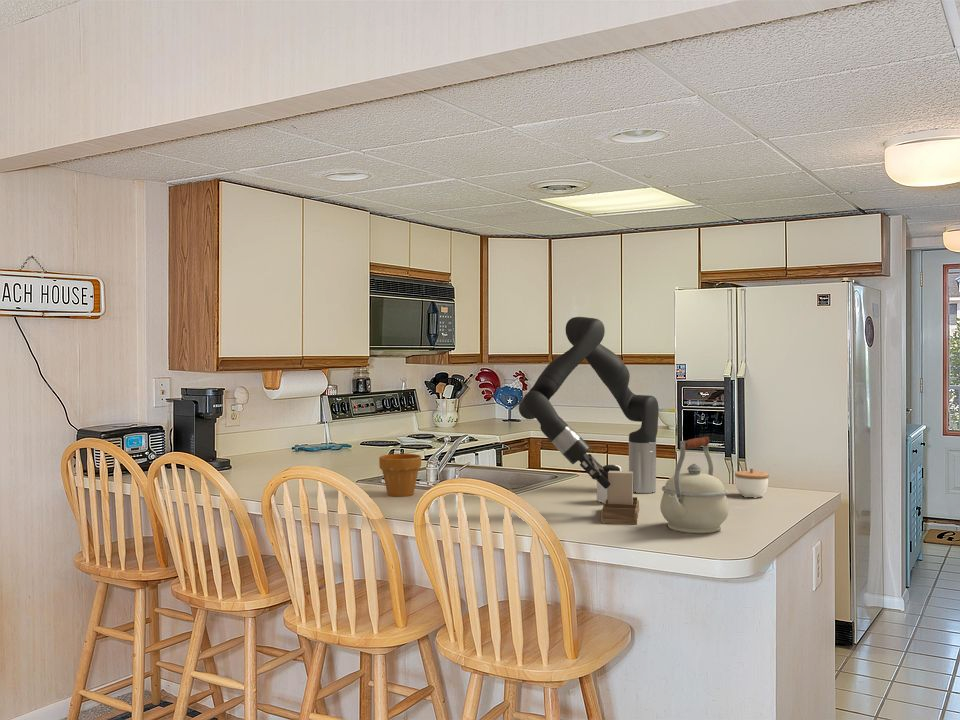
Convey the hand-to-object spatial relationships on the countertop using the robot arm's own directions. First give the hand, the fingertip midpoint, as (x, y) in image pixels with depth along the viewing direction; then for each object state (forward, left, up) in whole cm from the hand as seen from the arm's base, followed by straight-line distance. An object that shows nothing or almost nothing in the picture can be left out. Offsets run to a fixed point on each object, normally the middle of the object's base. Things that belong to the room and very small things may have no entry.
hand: (609, 484), depth 253 cm
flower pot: (-22, -72, -10) cm, 76 cm away
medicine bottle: (-22, -1, -10) cm, 24 cm away
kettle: (+13, +23, -10) cm, 28 cm away
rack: (0, +3, -9) cm, 10 cm away
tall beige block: (0, +3, -8) cm, 9 cm away
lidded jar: (-43, +44, -10) cm, 63 cm away
